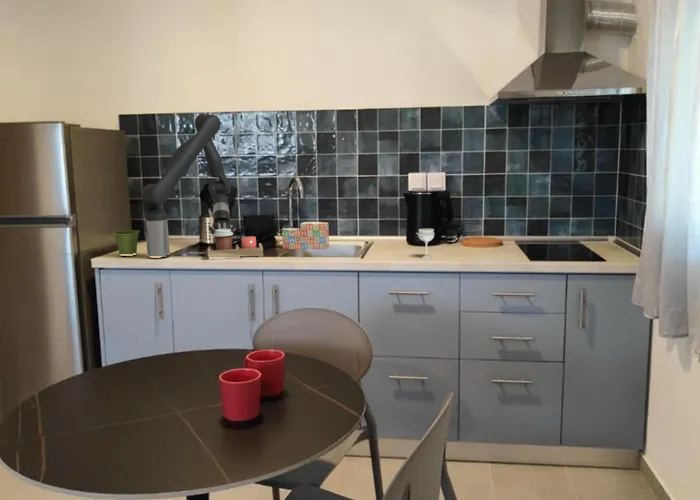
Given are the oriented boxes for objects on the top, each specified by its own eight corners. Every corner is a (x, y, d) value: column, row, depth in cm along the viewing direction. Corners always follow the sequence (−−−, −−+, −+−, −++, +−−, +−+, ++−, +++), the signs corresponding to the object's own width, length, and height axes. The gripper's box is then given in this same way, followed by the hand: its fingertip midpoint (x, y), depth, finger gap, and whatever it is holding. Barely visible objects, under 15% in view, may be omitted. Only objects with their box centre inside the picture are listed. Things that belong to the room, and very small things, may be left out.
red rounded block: (239, 255, 299) (238, 238, 298) (249, 253, 304) (248, 236, 303) (249, 256, 295) (248, 238, 294) (259, 254, 301) (258, 236, 299)
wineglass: (422, 259, 276) (421, 231, 274) (416, 256, 282) (415, 229, 280) (437, 258, 278) (436, 230, 276) (430, 255, 284) (430, 228, 282)
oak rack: (208, 255, 302) (208, 246, 302) (261, 251, 307) (260, 243, 306) (208, 260, 289) (207, 251, 289) (263, 256, 294) (262, 247, 293)
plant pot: (109, 257, 304) (106, 233, 302) (128, 253, 314) (126, 229, 312) (127, 259, 298) (125, 234, 296) (147, 254, 309) (145, 230, 307)
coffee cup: (236, 256, 296) (235, 230, 294) (216, 258, 293) (214, 231, 290) (232, 253, 304) (230, 227, 302) (212, 255, 301) (210, 229, 299)
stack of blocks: (282, 249, 313) (281, 223, 311) (286, 247, 319) (285, 221, 317) (326, 249, 308) (325, 223, 306) (329, 247, 314) (328, 221, 312)
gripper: (206, 210, 308) (207, 239, 298) (235, 208, 310) (237, 238, 301) (207, 219, 314) (208, 249, 304) (235, 218, 316) (237, 247, 307)
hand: (223, 243), depth 302 cm, fingers closed
